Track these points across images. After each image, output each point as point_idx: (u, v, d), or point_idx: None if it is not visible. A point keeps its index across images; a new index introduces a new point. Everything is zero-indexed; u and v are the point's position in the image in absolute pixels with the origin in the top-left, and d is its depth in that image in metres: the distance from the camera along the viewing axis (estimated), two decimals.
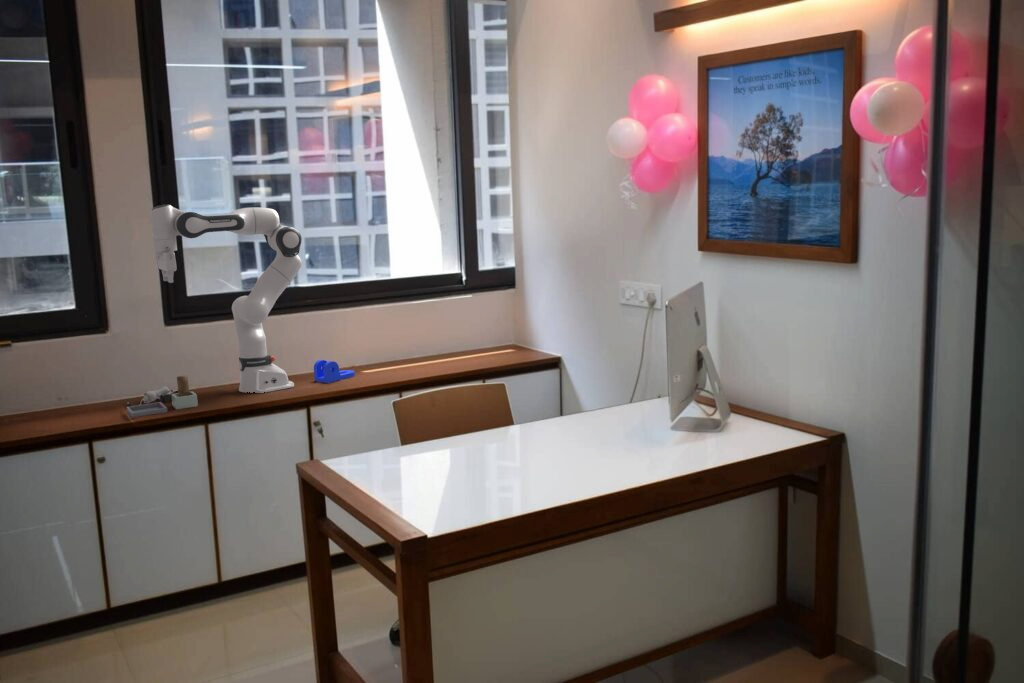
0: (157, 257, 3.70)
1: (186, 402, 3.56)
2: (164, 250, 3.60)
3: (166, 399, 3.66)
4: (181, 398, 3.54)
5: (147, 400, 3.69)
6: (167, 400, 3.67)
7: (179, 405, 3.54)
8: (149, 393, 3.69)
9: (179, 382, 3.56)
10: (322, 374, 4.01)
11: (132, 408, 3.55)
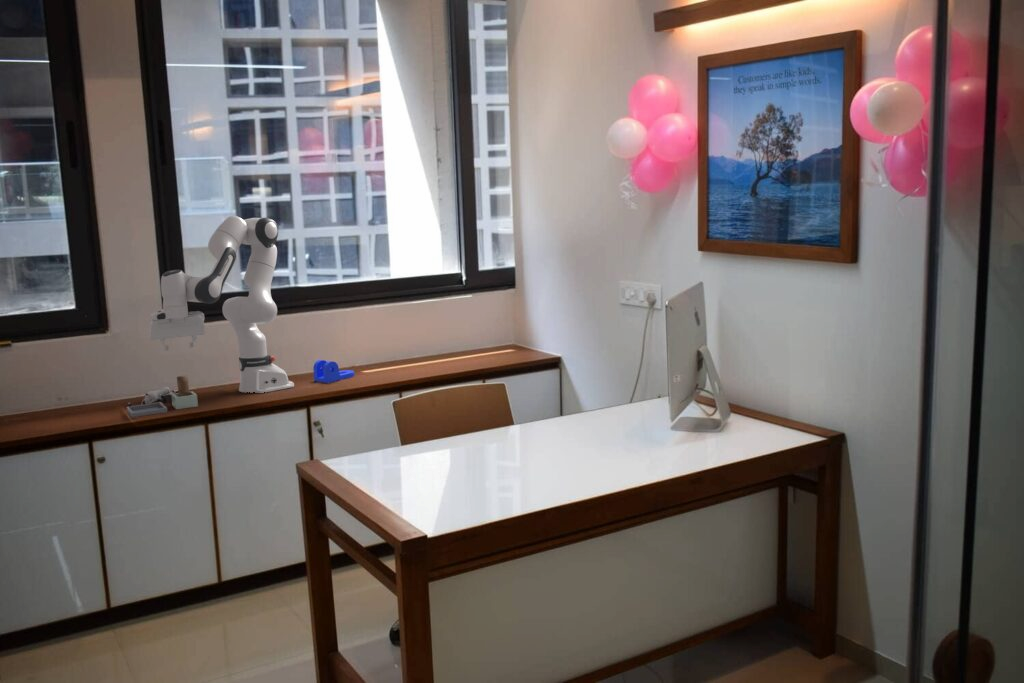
0: (156, 327, 3.49)
1: (186, 402, 3.56)
2: (188, 315, 3.55)
3: (167, 399, 3.66)
4: (181, 398, 3.54)
5: (148, 400, 3.68)
6: (168, 400, 3.66)
7: (179, 405, 3.54)
8: (150, 393, 3.68)
9: (179, 382, 3.56)
10: (322, 374, 4.01)
11: (132, 408, 3.55)
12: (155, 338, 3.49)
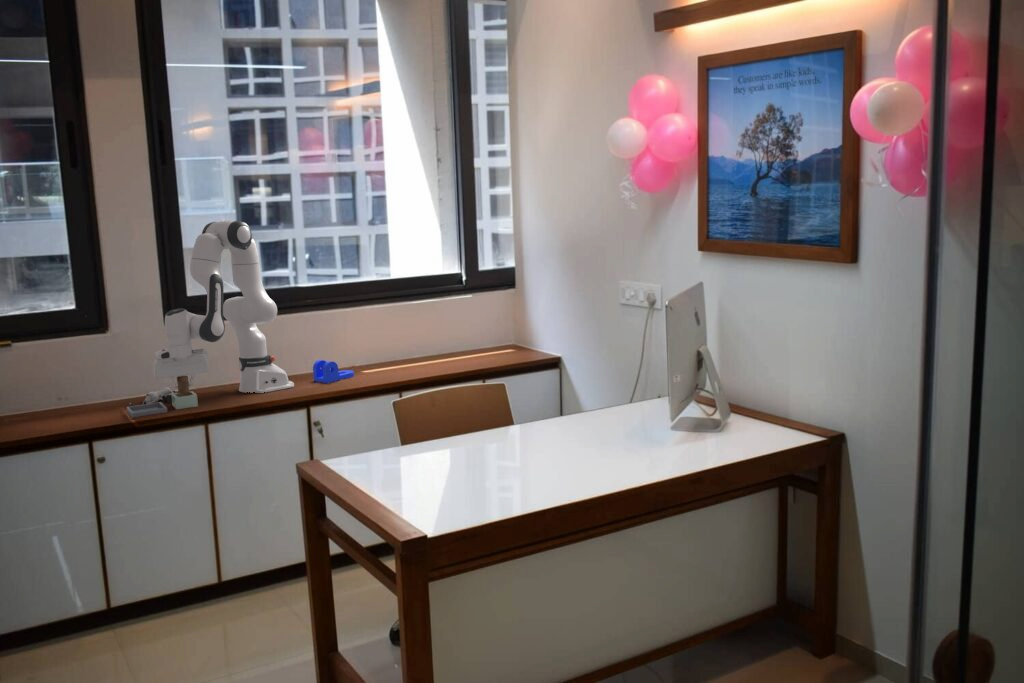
0: (160, 366, 3.51)
1: (186, 402, 3.56)
2: (191, 353, 3.57)
3: (168, 400, 3.65)
4: (181, 398, 3.54)
5: (149, 401, 3.67)
6: (169, 401, 3.66)
7: (179, 405, 3.54)
8: (151, 394, 3.68)
9: (179, 382, 3.56)
10: (321, 374, 4.01)
11: (132, 408, 3.55)
12: (159, 377, 3.52)
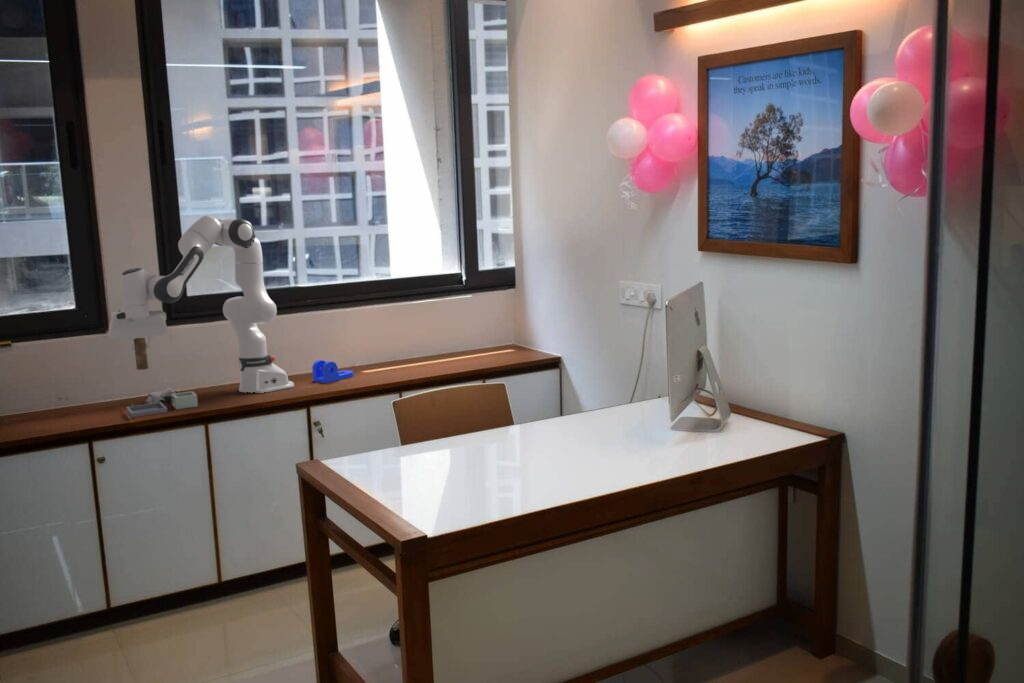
0: (116, 327, 3.41)
1: (186, 402, 3.56)
2: (149, 314, 3.47)
3: (170, 400, 3.64)
4: (181, 398, 3.54)
5: (151, 401, 3.66)
6: (171, 401, 3.65)
7: (179, 405, 3.54)
8: (153, 394, 3.66)
9: (136, 344, 3.46)
10: (321, 374, 4.01)
11: (132, 408, 3.55)
12: (115, 338, 3.42)
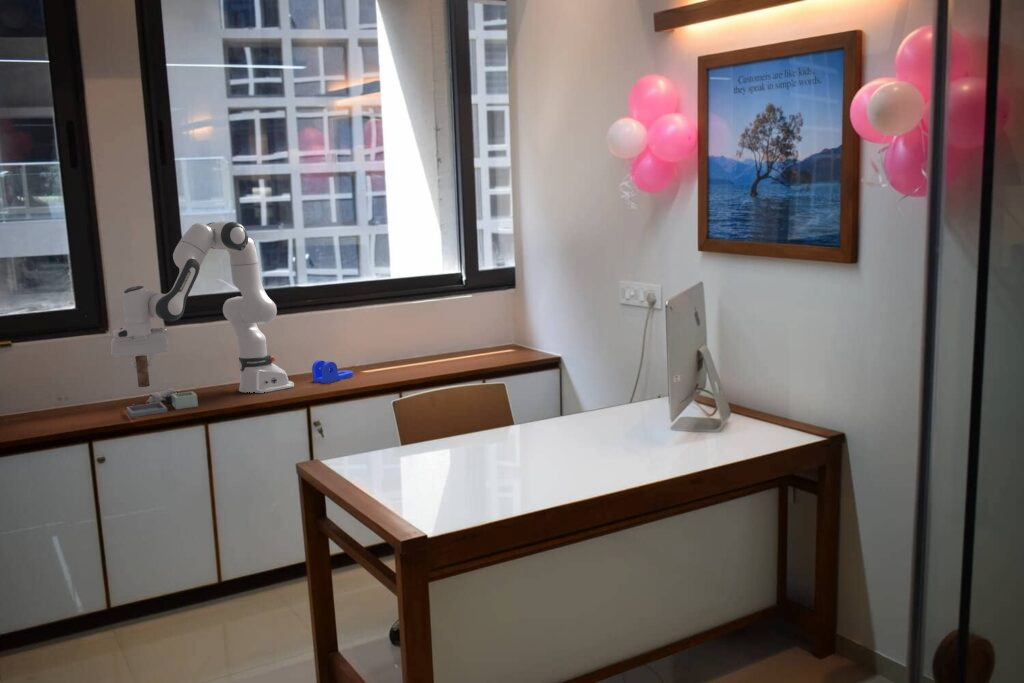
0: (118, 344, 3.42)
1: (186, 402, 3.56)
2: (150, 332, 3.49)
3: (171, 400, 3.64)
4: (181, 398, 3.54)
5: (152, 401, 3.66)
6: None
7: (179, 405, 3.54)
8: (154, 394, 3.66)
9: (137, 361, 3.47)
10: (320, 374, 4.01)
11: (132, 408, 3.55)
12: (117, 356, 3.43)
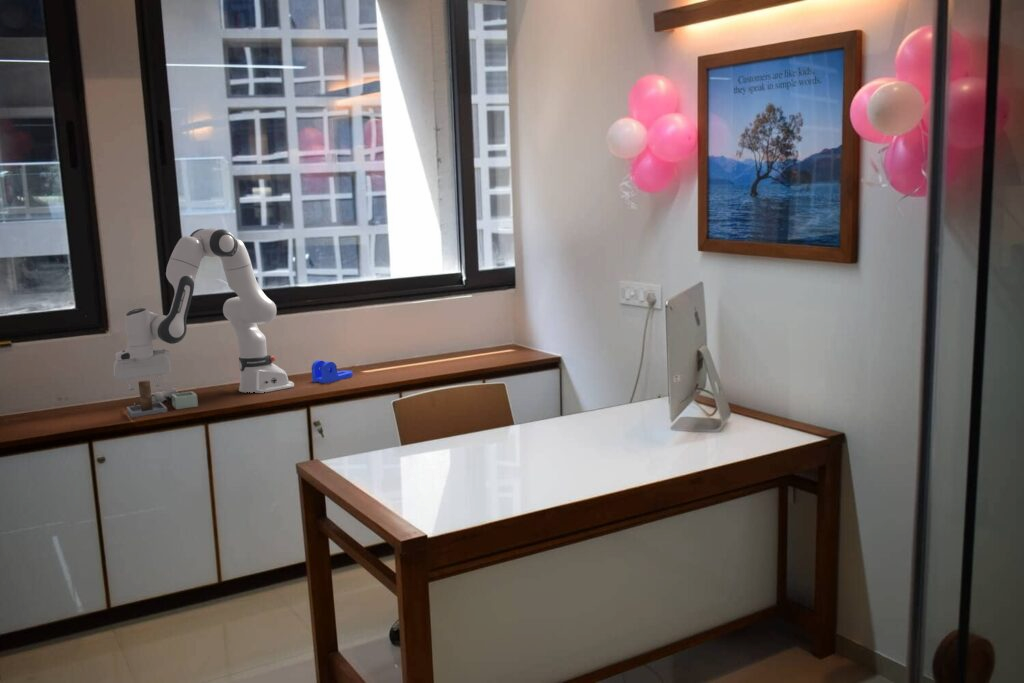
0: (120, 367, 3.44)
1: (186, 402, 3.56)
2: (153, 354, 3.50)
3: None
4: (181, 398, 3.54)
5: (154, 401, 3.66)
6: None
7: (179, 405, 3.54)
8: (156, 394, 3.66)
9: (141, 387, 3.49)
10: (320, 374, 4.01)
11: (132, 408, 3.55)
12: (119, 378, 3.44)
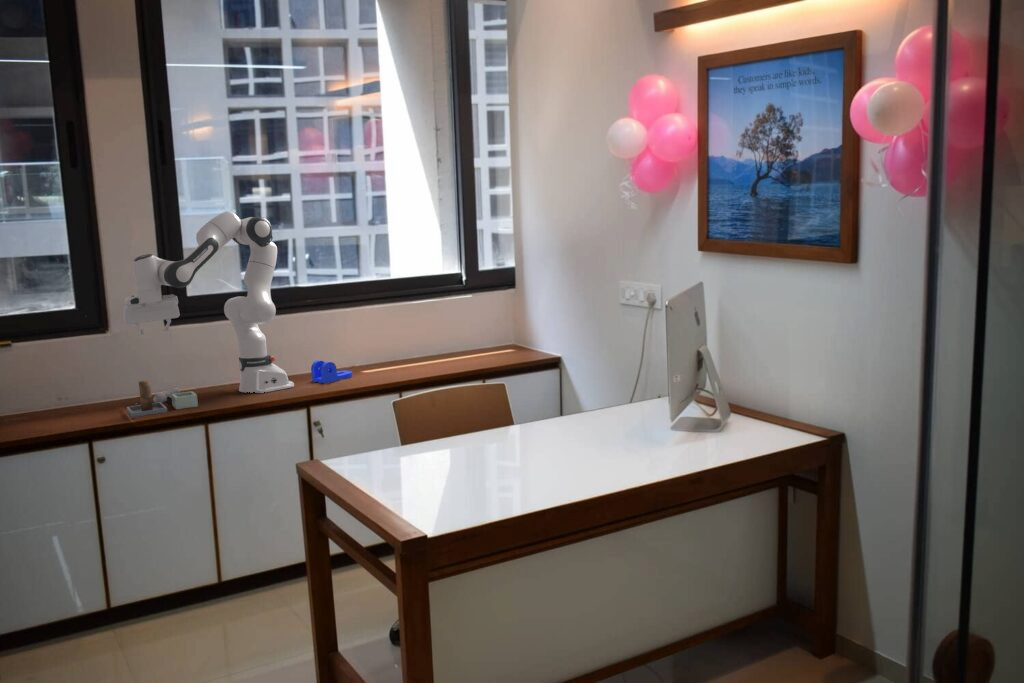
0: (130, 312, 3.52)
1: (186, 402, 3.56)
2: (161, 299, 3.58)
3: None
4: (181, 398, 3.54)
5: (156, 401, 3.66)
6: None
7: (179, 405, 3.54)
8: (158, 394, 3.66)
9: (141, 387, 3.49)
10: (319, 375, 4.00)
11: (132, 408, 3.55)
12: (130, 323, 3.52)
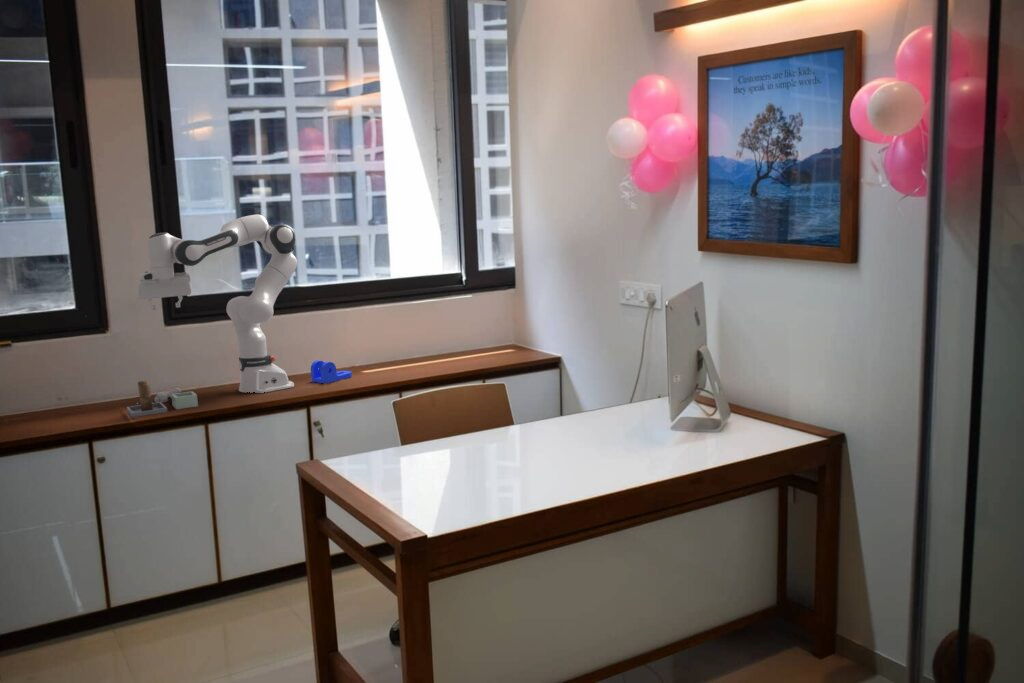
0: (143, 287, 3.63)
1: (186, 402, 3.56)
2: (174, 276, 3.69)
3: None
4: (181, 398, 3.54)
5: (157, 401, 3.66)
6: None
7: (179, 405, 3.54)
8: (159, 394, 3.66)
9: (140, 387, 3.49)
10: (319, 375, 4.00)
11: (132, 408, 3.55)
12: (142, 298, 3.64)
